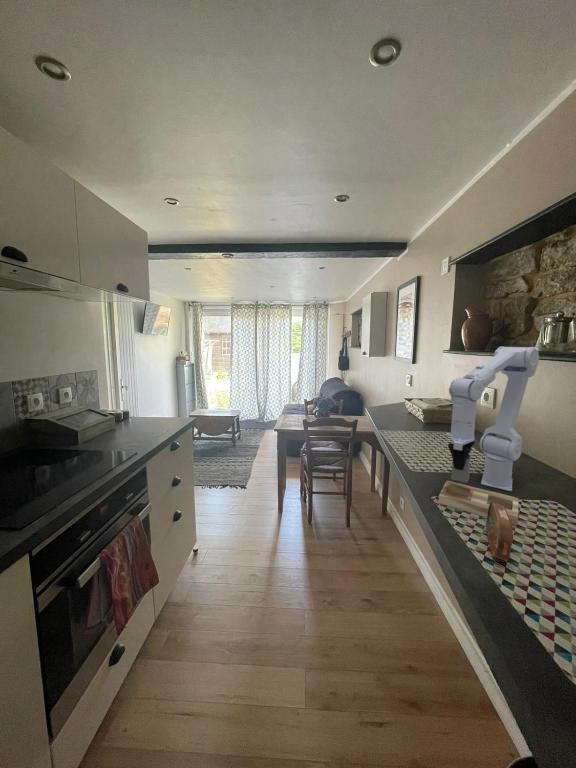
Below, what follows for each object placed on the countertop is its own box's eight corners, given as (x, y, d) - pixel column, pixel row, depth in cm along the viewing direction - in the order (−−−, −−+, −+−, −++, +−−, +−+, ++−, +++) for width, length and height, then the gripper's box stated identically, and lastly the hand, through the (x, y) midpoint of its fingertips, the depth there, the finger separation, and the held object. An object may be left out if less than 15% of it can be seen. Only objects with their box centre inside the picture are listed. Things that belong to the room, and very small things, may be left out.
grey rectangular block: (453, 473, 90) (455, 451, 89) (469, 477, 88) (470, 454, 86) (451, 479, 87) (452, 455, 86) (467, 482, 84) (469, 459, 83)
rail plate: (446, 487, 95) (446, 479, 95) (517, 506, 84) (518, 497, 84) (438, 503, 86) (439, 494, 86) (517, 526, 76) (518, 516, 75)
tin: (485, 525, 76) (487, 494, 75) (500, 529, 75) (503, 497, 73) (493, 565, 63) (497, 529, 62) (511, 571, 61) (516, 533, 60)
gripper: (452, 413, 93) (449, 455, 95) (442, 424, 81) (439, 471, 84) (478, 416, 89) (475, 460, 91) (472, 428, 77) (468, 478, 79)
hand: (459, 466), depth 87 cm, fingers closed on grey rectangular block, 4 cm apart
